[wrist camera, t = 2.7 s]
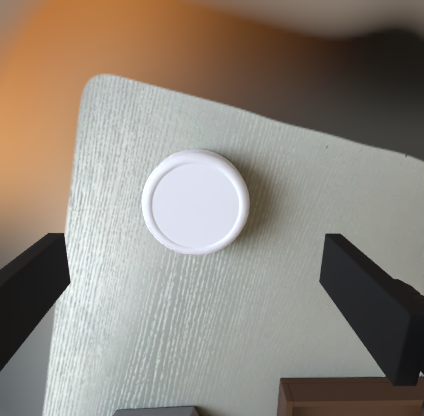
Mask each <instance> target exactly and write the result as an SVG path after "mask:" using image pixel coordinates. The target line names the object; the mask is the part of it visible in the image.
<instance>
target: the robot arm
mask: <svg viewBox="0 0 424 416" xmlns="http://www.w3.org/2000/svg"><path fill="white" fill-rule="evenodd" d="M319 282H320V283H321V285H322V286H323V288H324V289H325V290H326V292H327V293H328V295H329V296H330V297H331V299H332V300H333V302H334V303H335V305H336V306H337V307H338V309H339V310H340V312H341V313H342V314H343V316H344V317H345V319H346V320H347V321H348V323H349V324H350V326H351V327H352V329H353V330H354V331H355V333H356V334H357V336H358V337H359V338H360V340H361V341H362V343H363V344H364V346H365V347H366V348H367V350H368V351H369V353H370V354H371V355H372V357H373V358H374V360H375V361H376V362H377V364H378V365H379V367H380V368H381V370H382V371H383V372H384V374H385V375H386V377H387V378H388V379H389V381H390V382H391V384H392V385H393V386H416V385H417V381H418V377H419V373H420V371H421V372H422V373H423V374H424V296H423V295H421V294H420V293H419V292H418V291H417V290H416V289H414V288H413V287H412V286H410V285H408V284H406V283H404V282H402V281H401V280H399V279H393V278H392V277H391V276H390V275H388V274H387V273H386V272H385V271H384V270H382V269H381V268H380V267H379V266H378V265H377V264H375V263H374V262H373V261H372V260H371V259H370V258H368V257H367V256H366V255H365V254H364V253H362V252H361V251H360V250H359V249H358V248H357V247H355V246H354V245H353V244H352V243H351V242H350V241H348V240H347V239H346V238H345V237H344V236H343V235H341V234H325V242H324V250H323V257H322V265H321V273H320V281H319ZM70 283H71V282H70V275H69V267H68V260H67V252H66V245H65V237H64V233H48V234H47V235H45V236H44V237H43V238H41V239H40V240H39V241H37V242H36V243H35V244H33V245H32V246H31V247H29V248H28V249H27V250H25V251H24V252H23V253H22V254H20V255H19V256H18V257H16V258H15V259H14V260H12V261H11V262H10V263H8V264H7V265H6V266H4V267H3V268H2V269H1V270H0V371H1V370H2V369H3V368H4V366H5V365H6V364H7V363H8V361H9V360H10V359H11V357H12V356H13V355H14V354H15V352H16V351H17V350H18V349H19V347H20V346H21V345H22V343H23V342H24V341H25V340H26V338H27V337H28V336H29V335H30V333H31V332H32V331H33V330H34V328H35V327H36V326H37V325H38V323H39V322H40V321H41V319H42V318H43V317H44V316H45V314H46V313H47V312H48V311H49V309H50V308H51V307H52V306H53V304H54V303H55V302H56V300H57V299H58V298H59V297H60V295H61V294H62V293H63V292H64V290H65V289H66V288H67V287H68V285H69V284H70ZM422 409H424V401H423V404H422ZM423 416H424V410H423Z"/></svg>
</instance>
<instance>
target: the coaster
mask: <svg viewBox="0 0 424 416" xmlns="http://www.w3.org/2000/svg"><path fill="white" fill-rule="evenodd" d="M249 207H250V200H249V193H248V189H247V186H246V184H245V182H244V180H243V178H242V176H241V175H240V173H239V172H238V170H237V169H236V167H235V166H234V165H233V164H232V163H231V162H230V161H228V160H227V159H226V158H224V157H222V156H221V155H219V154H217V153H214V152H212V151H208V150H202V149H189V150H183V151H180V152H177V153H175V154H172V155H171V156H169V157H167V158H166V159H165V160H163V161H162V162H161V163H160V164H159V165H158V166H157V167H156V168H155V170H154V171H153V172H152V173H151V175H150V176H149V178H148V180H147V182H146V184H145V187H144V190H143V194H142V211H143V216H144V219H145V222H146V224H147V226H148V228H149V230H150V231H151V233H152V234H153V235H154V236H155V238H156V239H157V240H158V241H160V242H161V243H162V244H163V245H165V246H166V247H168V248H170V249H171V250H173V251H176V252H179V253H182V254H186V255H207V254H211V253H214V252H217V251H219V250H221V249H223V248H225V247H226V246H228V245H229V244H231V243H232V242H233V241H234V240H235V239H236V238H237V236H238V235H239V234H240V232H241V231H242V229H243V227H244V225H245V223H246V221H247V218H248V214H249Z"/></svg>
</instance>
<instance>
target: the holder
mask: <svg viewBox="0 0 424 416" xmlns="http://www.w3.org/2000/svg"><path fill="white" fill-rule="evenodd" d="M423 401H424V377H418V381H417V385H416V386H393V385H392V384H391V382H390V381H389V379H388V378H387V377H370V378H281V379H280V386H279V397H278V408H277V416H423V410H424V409H422V404H423Z"/></svg>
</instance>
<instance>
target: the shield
mask: <svg viewBox="0 0 424 416" xmlns="http://www.w3.org/2000/svg"><path fill="white" fill-rule="evenodd" d="M113 416H199V415H198V413H197V411H196V409H195V407H194V406H192V407H171V408H149V409H127V410H117V411H116V412H115V413H114V415H113Z"/></svg>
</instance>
